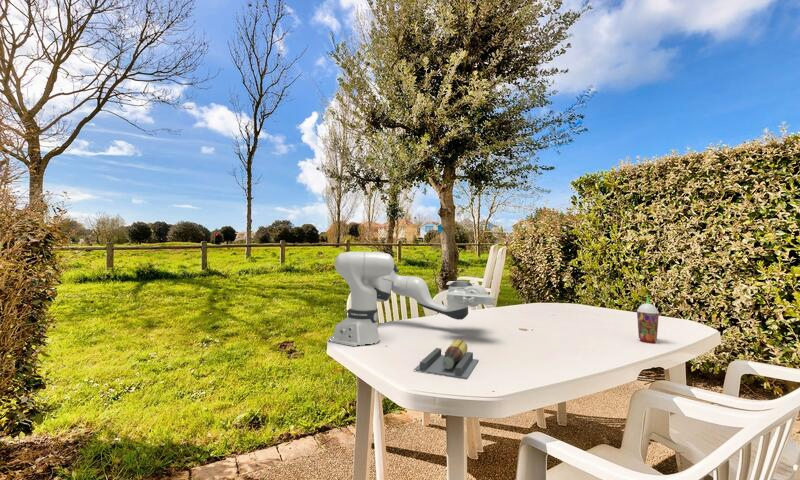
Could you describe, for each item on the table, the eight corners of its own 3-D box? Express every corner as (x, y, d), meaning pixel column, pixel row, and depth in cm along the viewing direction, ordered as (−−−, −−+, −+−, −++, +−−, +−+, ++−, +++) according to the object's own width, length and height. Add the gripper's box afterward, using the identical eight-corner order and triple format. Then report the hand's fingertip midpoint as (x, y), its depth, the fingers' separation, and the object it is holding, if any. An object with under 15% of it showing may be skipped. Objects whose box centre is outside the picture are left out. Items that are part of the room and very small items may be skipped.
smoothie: (640, 343, 162) (640, 298, 163) (634, 338, 170) (634, 295, 171) (662, 344, 160) (662, 299, 160) (654, 340, 168) (655, 296, 168)
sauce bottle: (449, 349, 140) (433, 364, 122) (456, 335, 139) (441, 348, 121) (464, 359, 138) (450, 376, 120) (472, 345, 137) (459, 360, 119)
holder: (413, 371, 122) (413, 362, 122) (431, 354, 141) (431, 347, 141) (467, 379, 115) (467, 369, 115) (478, 361, 134) (478, 352, 134)
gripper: (496, 305, 164) (491, 310, 151) (451, 301, 172) (443, 306, 159) (496, 291, 164) (491, 295, 151) (451, 288, 172) (443, 291, 159)
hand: (466, 300), depth 155 cm, fingers closed
